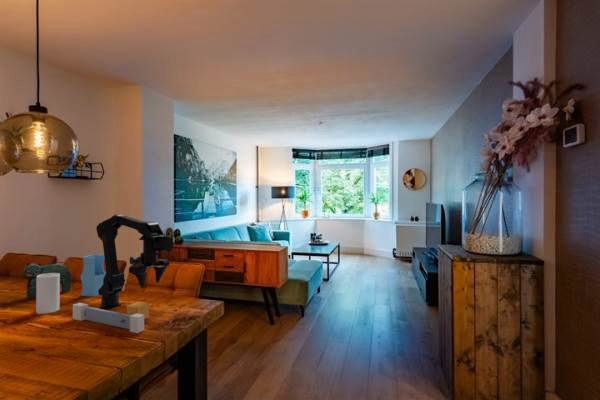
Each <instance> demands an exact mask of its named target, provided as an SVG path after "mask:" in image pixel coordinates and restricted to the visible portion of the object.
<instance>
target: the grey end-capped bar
mask: <svg viewBox="0 0 600 400" xmlns="http://www.w3.org/2000/svg"><path fill="white" fill-rule="evenodd" d="M84 316H85V317H86V319H85V320H86V321H89V322H95V323H100V324H104V325H107V326H108V325H109V326H112V327H113V326H114V327H119V328H122V329H127V330H130V316H131V315H128V314H127V313H122V312H116V311H112V310H109V309H104V308H103V309H102V308H98V307H97V308H96V307H92V306H88V307H87V308H86V310H85V313H84Z"/></svg>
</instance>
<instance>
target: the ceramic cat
mask: <svg viewBox="0 0 600 400" xmlns="http://www.w3.org/2000/svg"><path fill="white" fill-rule="evenodd" d="M43 258H45V259H47V260H49V258H48V257H46V256H42V257H40V258H39V261H38V263H30V262H27V263H26V265H25V266H24V268H23V274H24V276H25V277H27V278H28V279H27V284H26V297H27V299H28V300H31V299H35V298H36V280H37V276H38V275H41V274H47V273H59V274H60V286H61V292H62V293H69V292H70V291H71V285H72V274H71V272H70V270H69V265H68V264H67V263H66V262H64V261H63V262H62V261H55V262H51V263H49V264H46V265H45V264H42V263H41V259H43ZM63 264H64V265H63Z"/></svg>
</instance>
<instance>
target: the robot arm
mask: <svg viewBox="0 0 600 400" xmlns="http://www.w3.org/2000/svg"><path fill="white" fill-rule="evenodd" d="M122 226H123V227H127V228H130V229H133V230H135V231H137V232H138V233H139V234H141V235H142V236H141V237H139V238H138V240H139V241H143V242H142V245H143V246H142V252H141V253H140V254H139V255H140V256H138V257H137V256H136V255H134V256H130V257H129V264H130V265H131V266H129V268H128V274H131V275H133V276H135V277H136V279H137V281H138V283H139V287H140V288H142V289H144V288H145V284H146V279H147V274H148V272H147V270H149V269H152V268H153V270H154V271H155V282H156V284H159V283H160V281H161V279H162V276H164V275H163V274H164V273H165V271H166V269H167V268H168V266H170V261H169V259H167V258H166V259H165V258H159V259H158V256H159V255H160V252H166V253H167V252H171V251H172V250H173V247H174V241H173V240H172V239H171V236H170V235H165V234H164V232H163V230H162V228H161V226H160V224H159V222H157V221H148V220H147V221H143V220H140V219H138V218H134V217H130V216H127V215H125V214H120V213H119V214H114V215H112V216H111V217H110V218H107V219H105V220H103V221H102V222H100V223H98V224H97V225H96V227H95V228H96V233H97V234H96V235H97V237H98V238H99V240H100V241H101V242H102V249H103V255H104V257H105V259H104V264H105V265H104V266H105V273H106V274H105V276H104V279H103V285H102V287H101V288H100V289H99V290H98V293H99V295H98V296H101V301H100V303H101V304H100V305H99V308H101V309H102V308H103V309H106V310H109V309H113V308H115V307H116V308H117V307H118V306H121V305H122V303H120V301H119V300H120V299H119V297H120V294H119V293H120V292H122V291H123V288H124V286H125V283H126V278H125V273H124V272H121V271H120V270H119V264H118V257H117V256H118V255H117V248H116V238H117V237H118V234H119V233H118V231H119V230H118V229H120V228H121V227H122Z"/></svg>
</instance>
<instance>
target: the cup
mask: <svg viewBox="0 0 600 400" xmlns="http://www.w3.org/2000/svg"><path fill="white" fill-rule="evenodd" d="M60 286H61V284H60V274H59V273H47V274H41V275H38V276H37V280H36V299H35V301H36V302H35V304H36V306H35V308H36V309H35V311H36V312H35V313H36V314H39V315H40V314H41V315H44V314H50V313H51V314H52V313H55V312H58V311H59V310H60V301H61V300H60V289H61V287H60Z"/></svg>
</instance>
